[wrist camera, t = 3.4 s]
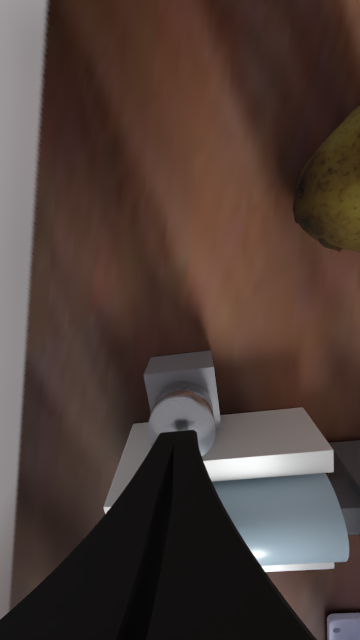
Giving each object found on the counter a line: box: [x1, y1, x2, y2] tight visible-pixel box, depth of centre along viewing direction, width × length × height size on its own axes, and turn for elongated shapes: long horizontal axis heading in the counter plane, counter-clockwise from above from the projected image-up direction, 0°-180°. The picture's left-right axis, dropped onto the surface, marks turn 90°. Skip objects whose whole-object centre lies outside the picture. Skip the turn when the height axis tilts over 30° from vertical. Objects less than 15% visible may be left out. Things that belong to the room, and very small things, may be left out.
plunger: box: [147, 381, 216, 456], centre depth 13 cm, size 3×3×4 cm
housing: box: [104, 350, 334, 572], centre depth 13 cm, size 15×10×6 cm, turn 8°
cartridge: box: [212, 440, 360, 566], centre depth 13 cm, size 4×12×5 cm, turn 98°
